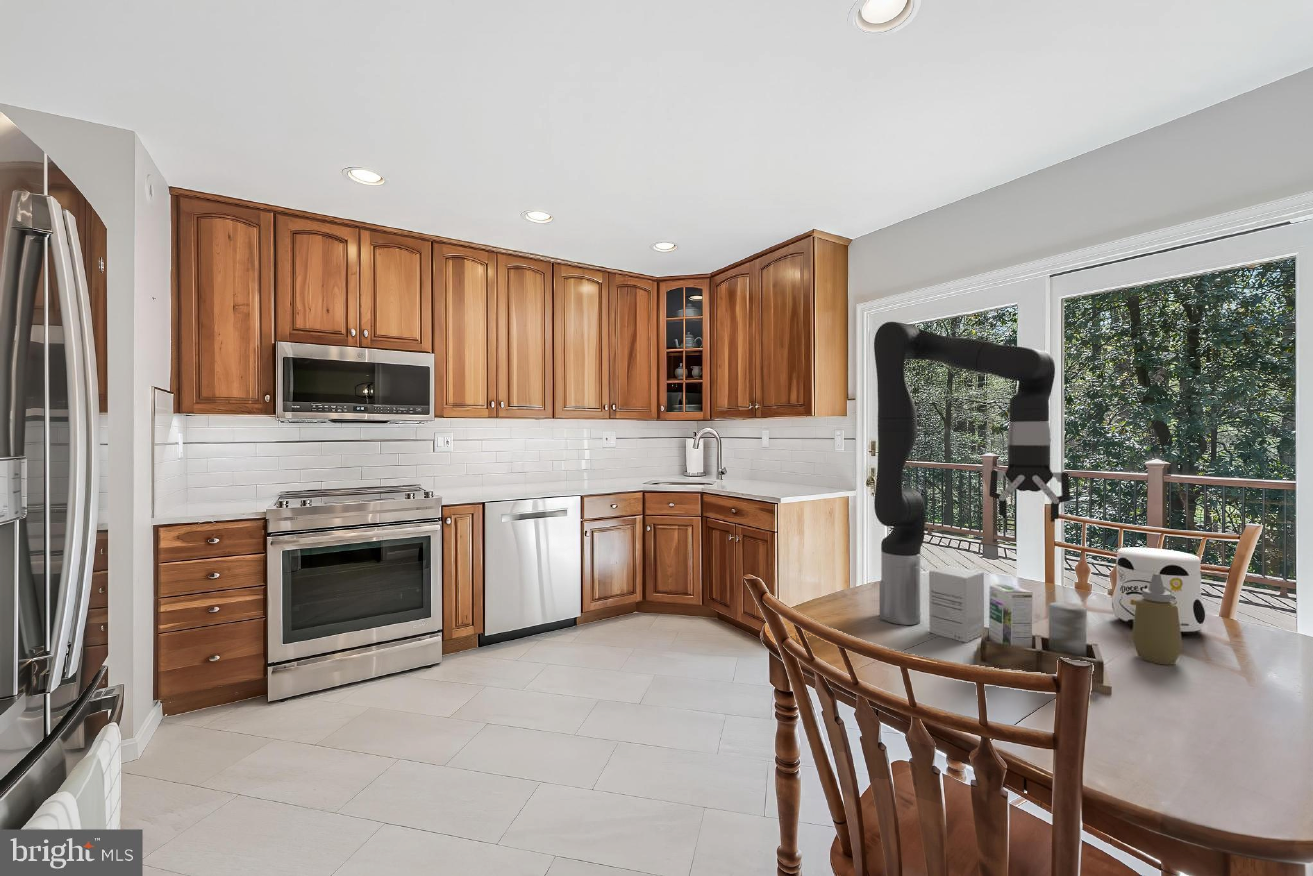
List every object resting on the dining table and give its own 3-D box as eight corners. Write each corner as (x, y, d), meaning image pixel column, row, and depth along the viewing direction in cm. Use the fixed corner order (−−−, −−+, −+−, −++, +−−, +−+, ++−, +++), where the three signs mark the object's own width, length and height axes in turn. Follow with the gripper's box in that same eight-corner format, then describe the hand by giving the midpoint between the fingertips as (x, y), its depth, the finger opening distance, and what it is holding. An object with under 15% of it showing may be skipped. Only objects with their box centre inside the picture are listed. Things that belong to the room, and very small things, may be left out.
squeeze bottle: (1170, 655, 124) (1170, 570, 124) (1191, 669, 116) (1191, 580, 116) (1124, 650, 127) (1124, 568, 126) (1141, 665, 119) (1142, 577, 119)
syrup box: (987, 653, 122) (987, 584, 122) (1013, 652, 122) (1014, 583, 122) (1005, 664, 116) (1005, 591, 116) (1033, 663, 117) (1033, 591, 116)
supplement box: (947, 624, 144) (947, 564, 144) (985, 635, 137) (985, 571, 137) (927, 632, 139) (927, 569, 139) (965, 643, 132) (966, 577, 131)
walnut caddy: (974, 669, 117) (974, 602, 117) (977, 649, 128) (977, 588, 127) (1111, 694, 106) (1111, 621, 106) (1103, 671, 116) (1104, 604, 116)
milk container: (1126, 634, 137) (1126, 558, 136) (1101, 612, 153) (1102, 544, 152) (1221, 644, 130) (1222, 564, 130) (1185, 620, 146) (1185, 549, 146)
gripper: (988, 443, 124) (988, 519, 124) (1070, 444, 116) (1070, 525, 116) (991, 442, 130) (990, 514, 130) (1069, 443, 122) (1068, 520, 122)
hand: (1028, 519), depth 123 cm, fingers open, 8 cm apart
